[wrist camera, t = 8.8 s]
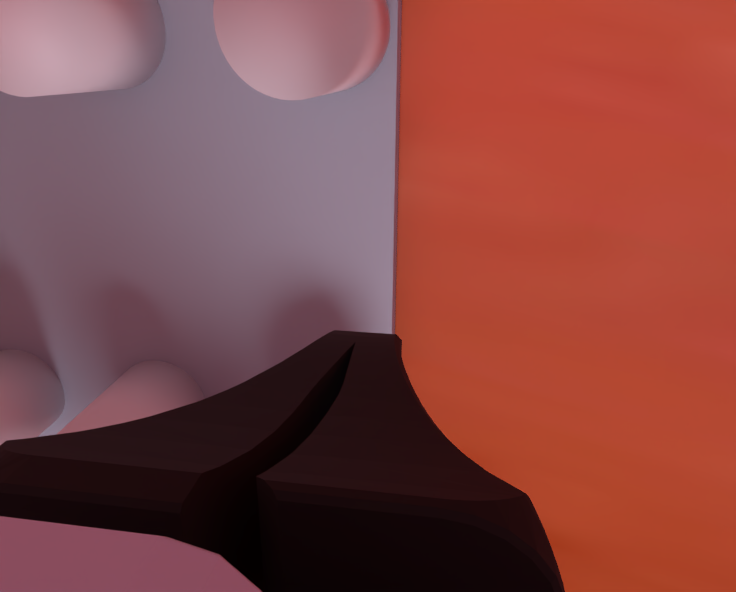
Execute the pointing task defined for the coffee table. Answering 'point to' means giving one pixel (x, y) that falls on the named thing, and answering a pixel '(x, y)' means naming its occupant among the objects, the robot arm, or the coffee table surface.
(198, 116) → the spacer board
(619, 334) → the coffee table surface
